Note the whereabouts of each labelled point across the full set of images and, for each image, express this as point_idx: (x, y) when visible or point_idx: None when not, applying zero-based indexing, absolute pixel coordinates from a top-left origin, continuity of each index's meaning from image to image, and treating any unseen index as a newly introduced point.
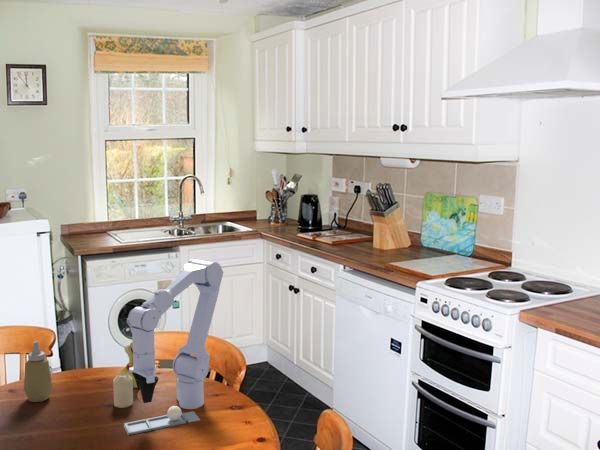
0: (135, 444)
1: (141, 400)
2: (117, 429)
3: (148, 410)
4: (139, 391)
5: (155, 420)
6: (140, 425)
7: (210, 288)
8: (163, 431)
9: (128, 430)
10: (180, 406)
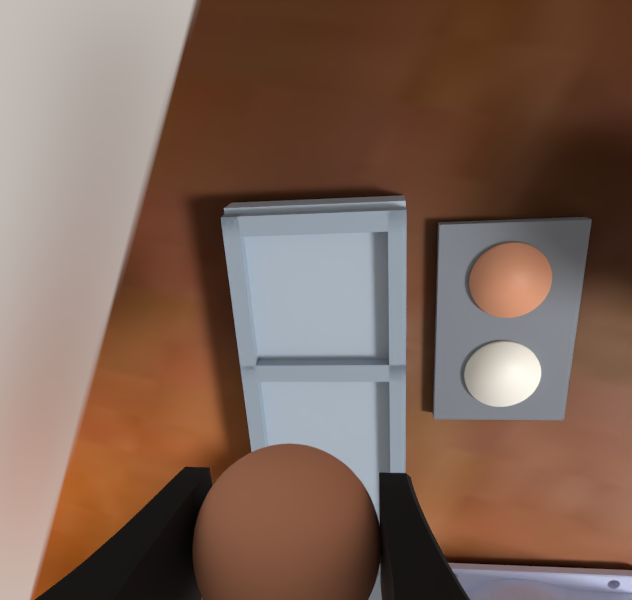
0: (131, 232)
1: (235, 463)
2: (414, 148)
3: (619, 413)
4: (266, 534)
5: (378, 419)
6: (343, 317)
7: None
8: None
9: (262, 221)
10: (507, 588)
